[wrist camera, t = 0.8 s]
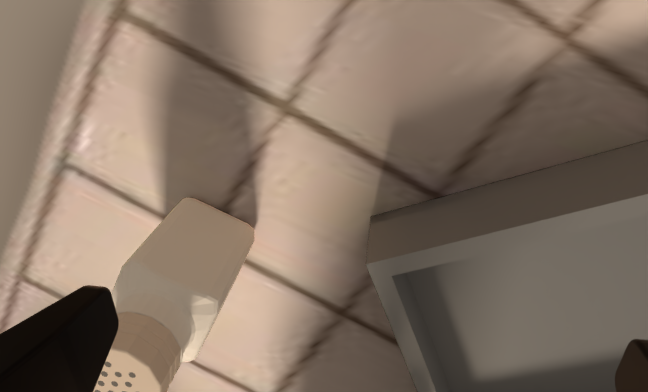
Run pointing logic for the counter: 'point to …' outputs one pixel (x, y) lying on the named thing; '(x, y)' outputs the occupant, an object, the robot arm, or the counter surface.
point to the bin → (520, 278)
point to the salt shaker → (172, 295)
